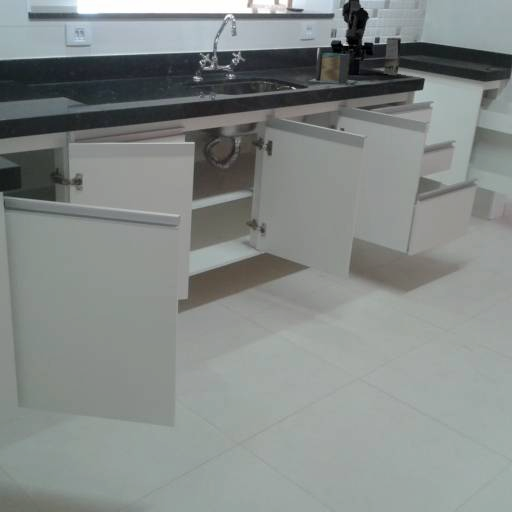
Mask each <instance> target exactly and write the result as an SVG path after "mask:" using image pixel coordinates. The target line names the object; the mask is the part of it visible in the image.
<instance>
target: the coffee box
mask: <svg viewBox="0 0 512 512" xmlns="http://www.w3.org/2000/svg"><path fill="white" fill-rule="evenodd" d="M401 43H402V38H400V37H388V38H387V40H386V46H385V49H386V50H385V56H384V57H385V59H384V60H385V61H384V69H383V70H384V71H383V75H384V74H388V75H387V76H398V73H399V72H398V71H399V64H400V56H401V55H400V54H401V45H402V44H401Z"/></svg>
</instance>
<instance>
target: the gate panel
mask: <svg viewBox="0 0 512 512" xmlns="http://www.w3.org/2000/svg"><path fill="white" fill-rule="evenodd" d="M340 55H348V54H343V53H333V52H332V53H329V52H322V61H321V80H332V81H339V69H340ZM348 70H349V57H348ZM348 80H349V74H348V72H347V81H348Z"/></svg>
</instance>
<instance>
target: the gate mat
mask: <svg viewBox="0 0 512 512" xmlns="http://www.w3.org/2000/svg"><path fill="white" fill-rule="evenodd" d="M308 82H309V83H317V82H319V84H329V83H334V84H333V85H342V84H345V83H339V81H332V80H320V81H316V77H315V78H313V79H310V80H308ZM355 82H356V83H357V80H353V79H351V80H350V79H348V81H347V83H346V84H351V85H353V84H355Z"/></svg>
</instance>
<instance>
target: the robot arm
mask: <svg viewBox="0 0 512 512" xmlns="http://www.w3.org/2000/svg"><path fill="white" fill-rule="evenodd" d="M341 12H342V13H341V16H342V17H343V21H344V22H345V23H346V24H347V29H346V31H345V38H346V39H345V41H346V42H343V43H342V40H337V39H332V41H331V42H330V46H331V50H332V53H333V54H348V55H349V70H348V75H350V76H351V75H362V72H360V64H361V63H360V62H363V61H364V59H365V55H366V56H374V55H375V44H374V42H370V41H369V42H368V41H367V42H366V41H364V43H363V37H364V34H365V31H366V26H367V23H368V21H369V19H370V16H369V13H368V12H367V10H365V9H364V7H362V5H361V3H360V0H347V2H346V3H344V4H343V6H342V11H341Z"/></svg>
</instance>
